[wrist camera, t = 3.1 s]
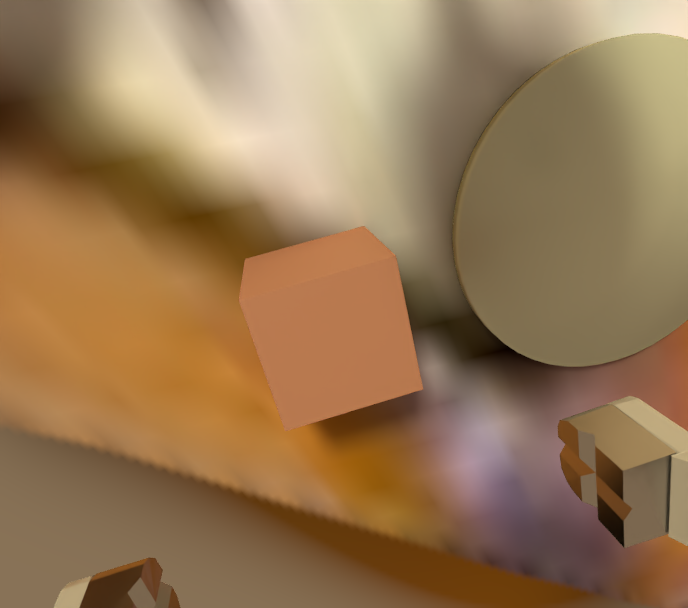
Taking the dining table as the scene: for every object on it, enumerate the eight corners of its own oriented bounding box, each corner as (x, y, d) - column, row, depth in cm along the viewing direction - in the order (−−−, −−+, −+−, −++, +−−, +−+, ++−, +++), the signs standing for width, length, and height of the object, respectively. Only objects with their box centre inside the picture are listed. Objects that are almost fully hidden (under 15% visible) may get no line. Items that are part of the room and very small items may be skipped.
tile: (762, -1, 18) (783, -7, 17) (732, 313, 23) (747, 319, 23) (426, 86, 17) (434, 84, 17) (474, 393, 23) (481, 401, 22)
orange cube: (363, 225, 19) (395, 256, 14) (387, 332, 21) (423, 389, 16) (245, 258, 19) (238, 300, 14) (280, 363, 20) (285, 431, 16)
